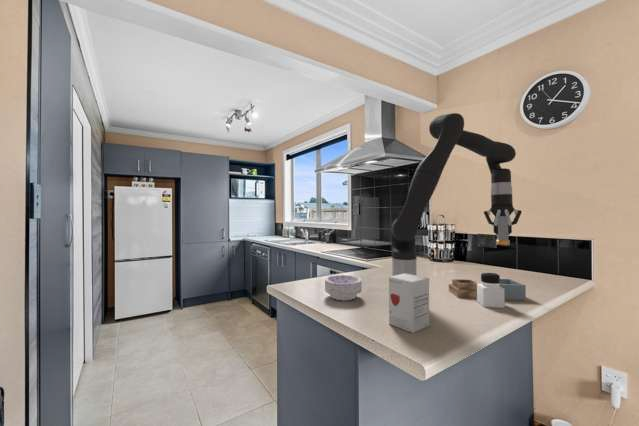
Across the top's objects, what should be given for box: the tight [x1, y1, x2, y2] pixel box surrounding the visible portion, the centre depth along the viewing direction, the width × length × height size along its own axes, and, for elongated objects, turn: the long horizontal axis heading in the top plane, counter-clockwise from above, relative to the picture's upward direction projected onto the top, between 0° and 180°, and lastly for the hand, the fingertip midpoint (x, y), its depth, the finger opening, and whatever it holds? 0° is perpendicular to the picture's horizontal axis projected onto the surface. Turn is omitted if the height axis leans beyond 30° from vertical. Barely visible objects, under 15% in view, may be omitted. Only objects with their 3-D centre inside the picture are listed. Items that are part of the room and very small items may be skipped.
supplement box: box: [388, 273, 430, 334], centre depth 86 cm, size 9×9×15 cm
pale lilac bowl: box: [324, 274, 363, 302], centre depth 115 cm, size 15×15×8 cm
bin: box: [499, 278, 527, 301], centre depth 117 cm, size 11×11×6 cm
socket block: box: [448, 278, 479, 299], centre depth 120 cm, size 10×10×6 cm
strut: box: [495, 216, 511, 246], centre depth 117 cm, size 5×5×12 cm
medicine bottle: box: [476, 271, 506, 309], centre depth 105 cm, size 7×7×12 cm
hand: (502, 234), depth 117 cm, fingers closed on strut, 3 cm apart
